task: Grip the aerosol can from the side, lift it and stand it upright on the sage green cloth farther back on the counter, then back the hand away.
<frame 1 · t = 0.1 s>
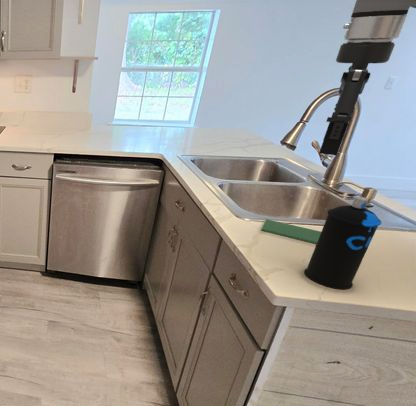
hand: (329, 147, 80), 29 cm above the worktop, tool pointing down, fingers open, 13 cm apart
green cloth: (293, 232, 103), on the worktop
aerosol can: (327, 279, 83), on the worktop
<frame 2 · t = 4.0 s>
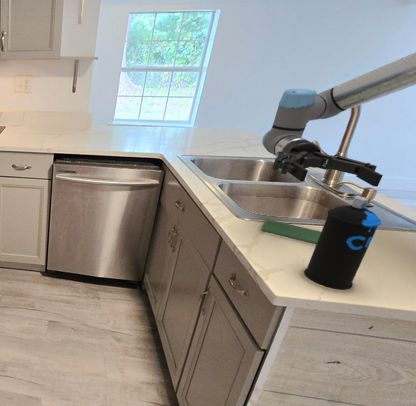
hand: (340, 178, 83), 21 cm above the worktop, tool horizontal, fingers open, 13 cm apart
nothing on the worktop moved.
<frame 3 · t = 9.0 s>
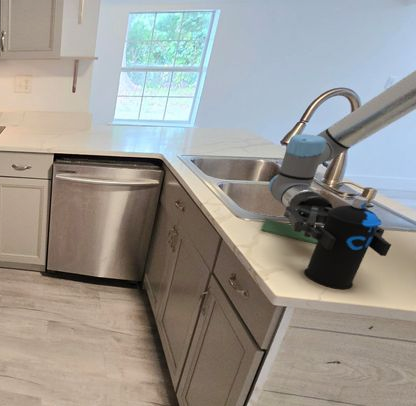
hand: (358, 247, 75), 11 cm above the worktop, tool horizontal, fingers closed on aerosol can, 8 cm apart
aerosol can: (327, 279, 83), on the worktop, touching gripper
when the fingers open (12 cm above the worktop, at t = 16.5 s): aerosol can stays where it is, resting on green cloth.
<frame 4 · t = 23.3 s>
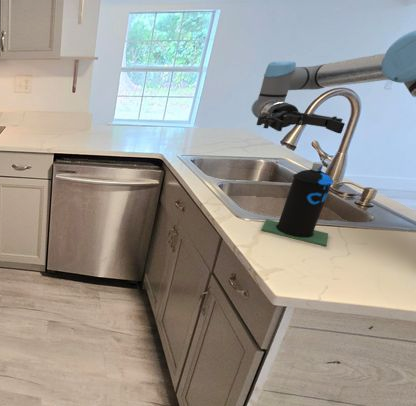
hand: (310, 127, 100), 28 cm above the worktop, tool horizontal, fingers open, 13 cm apart
aerosol can: (293, 231, 103), resting on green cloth
at the end: aerosol can inside the target area on the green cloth (0.1 cm from its centre), point 0.4 cm above the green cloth's base; aerosol can tilted 0°; the gripper is holding nothing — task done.
